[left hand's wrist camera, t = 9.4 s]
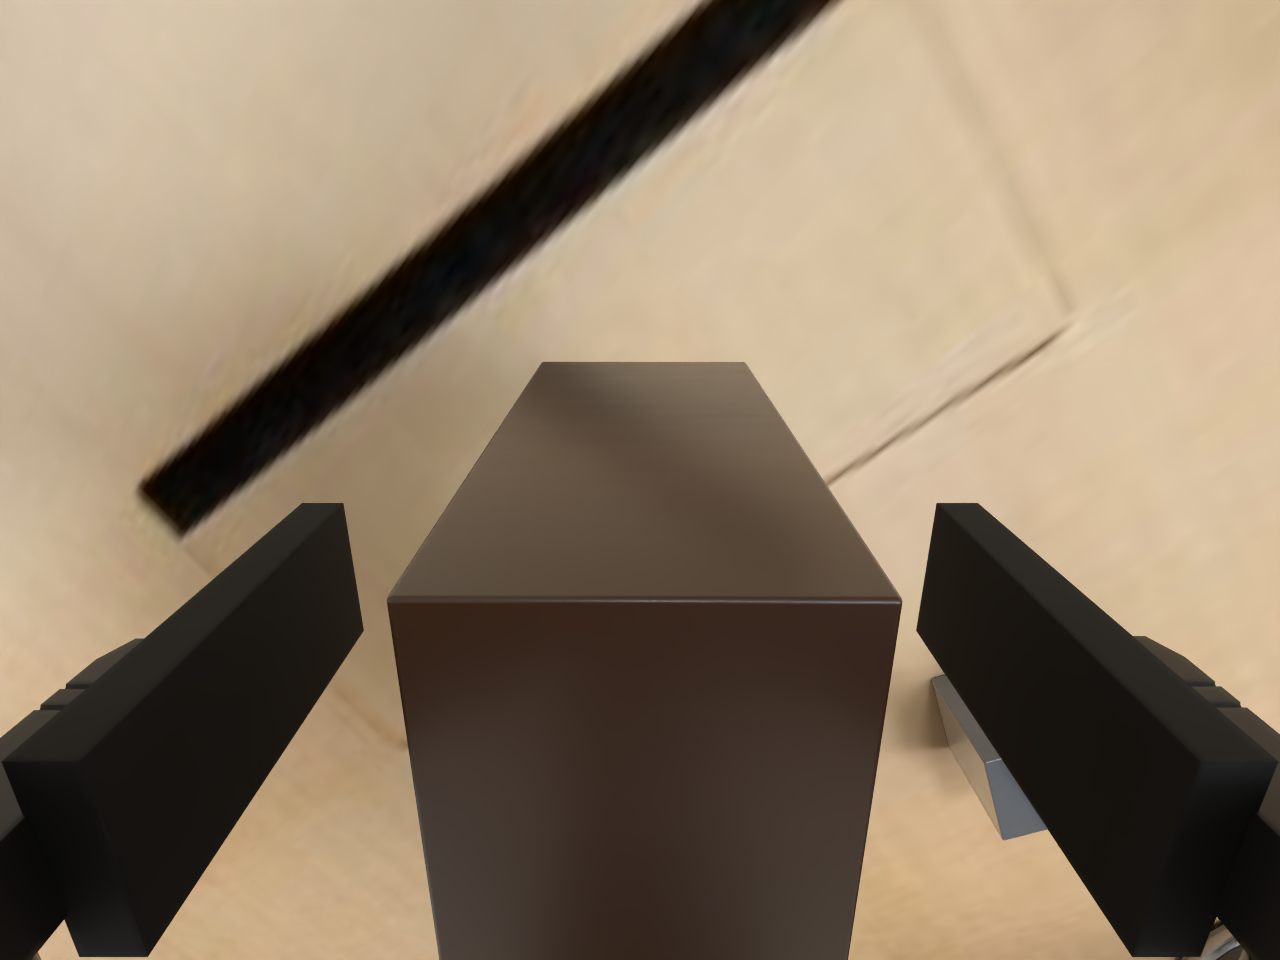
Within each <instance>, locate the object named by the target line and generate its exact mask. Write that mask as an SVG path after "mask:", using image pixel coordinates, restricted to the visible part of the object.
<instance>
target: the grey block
mask: <svg viewBox="0 0 1280 960" xmlns="http://www.w3.org/2000/svg"><path fill="white" fill-rule="evenodd" d="M932 683H933V687H934V690H935V694H936V698H937V702H938V706H939V710H940V713H941V717H942V721H943V725H944V729H945V732H946V736H947V740H948V744H949V748H950V750H951V752H952V753H953V755H954V757H955V759H956V760H957V762H958V764H959V766H960V767H961V769H962V771H963V772H964V774H965V776H966V778H967V779H968V781H969V783H970V785H971V786H972V788H973V790H974V791H975V793H976V795H977V797H978V798H979V800H980V802H981V804H982V805H983V807H984V809H985V810H986V812H987V814H988V816H989V817H990V819H991V821H992V823H993V824H994V826H995V828H996V829H997V831H998V833H999V835H1000V836H1001V838H1002V839H1003V840H1008V839H1012V838H1016V837H1019V836H1023V835H1027V834H1031V833H1035V832H1039V831H1043V830H1047V827H1046V826H1045V824H1044V823H1043V821H1042V820H1041V818H1040V817H1039V815H1038V814H1037V812H1036V811H1035V809H1034V808H1033V806H1032V805H1031V803H1030V802H1029V800H1028V799H1027V797H1026V796H1025V794H1024V793H1023V791H1022V790H1021V788H1020V787H1019V785H1018V783H1017V782H1016V780H1015V779H1014V777H1013V776H1012V774H1011V773H1010V771H1009V770H1008V768H1007V767H1006V765H1005V764H1004V762H1003V761H1002V759H1001V758H1000V756H999V755H998V753H997V752H996V750H995V749H994V747H993V746H992V744H991V743H990V741H989V740H988V738H987V737H986V735H985V734H984V732H983V731H982V729H981V728H980V726H979V725H978V723H977V722H976V720H975V719H974V717H973V715H972V714H971V712H970V711H969V709H968V708H967V706H966V705H965V703H964V702H963V700H962V699H961V697H960V696H959V694H958V693H957V691H956V690H955V688H954V687H953V685H952V684H951V682H950V681H949V679H948V678H947V676H946V675H943V676H940V677H936V678H933V679H932Z"/></svg>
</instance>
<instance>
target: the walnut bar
mask: <svg viewBox="0 0 1280 960" xmlns="http://www.w3.org/2000/svg"><path fill="white" fill-rule="evenodd" d="M387 604H388V611H389V618H390V625H391V632H392V639H393V645H394V652H395V659H396V666H397V673H398V680H399V686H400V693H401V700H402V707H403V714H404V721H405V727H406V734H407V741H408V748H409V755H410V762H411V768H412V775H413V782H414V789H415V796H416V803H417V809H418V816H419V823H420V830H421V837H422V843H423V850H424V857H425V864H426V871H427V878H428V884H429V891H430V898H431V905H432V912H433V919H434V925H435V932H436V939H437V946H438V953H439V960H848V955H849V948H850V942H851V935H852V929H853V922H854V916H855V909H856V902H857V896H858V889H859V883H860V876H861V870H862V863H863V857H864V850H865V843H866V837H867V830H868V824H869V817H870V811H871V804H872V797H873V791H874V784H875V778H876V771H877V765H878V758H879V752H880V745H881V738H882V732H883V725H884V719H885V712H886V706H887V699H888V692H889V686H890V679H891V673H892V666H893V660H894V653H895V646H896V640H897V633H898V627H899V620H900V614H901V607H902V599H901V597H900V595H899V594H898V592H897V591H896V589H895V588H894V586H893V585H892V583H891V582H890V580H889V579H888V577H887V576H886V574H885V573H884V571H883V570H882V568H881V567H880V565H879V564H878V562H877V561H876V559H875V558H874V556H873V555H872V553H871V551H870V550H869V548H868V547H867V545H866V544H865V542H864V541H863V539H862V538H861V536H860V535H859V533H858V532H857V530H856V529H855V527H854V526H853V524H852V523H851V521H850V520H849V518H848V517H847V515H846V514H845V512H844V511H843V509H842V508H841V506H840V505H839V503H838V502H837V500H836V499H835V497H834V496H833V494H832V493H831V491H830V490H829V488H828V487H827V485H826V484H825V482H824V481H823V479H822V478H821V476H820V475H819V473H818V472H817V470H816V469H815V467H814V466H813V464H812V463H811V461H810V459H809V458H808V456H807V455H806V453H805V452H804V450H803V449H802V447H801V446H800V444H799V443H798V441H797V440H796V438H795V437H794V435H793V434H792V432H791V431H790V429H789V428H788V426H787V425H786V423H785V422H784V420H783V419H782V417H781V416H780V414H779V413H778V411H777V410H776V408H775V407H774V405H773V404H772V402H771V401H770V399H769V398H768V396H767V395H766V393H765V392H764V390H763V389H762V387H761V386H760V384H759V383H758V381H757V380H756V378H755V377H754V375H753V374H752V372H751V371H750V369H749V367H748V366H747V364H746V363H744V362H542V363H541V365H540V366H539V368H538V369H537V371H536V372H535V374H534V375H533V377H532V378H531V380H530V381H529V383H528V384H527V386H526V387H525V389H524V391H523V392H522V394H521V395H520V397H519V398H518V400H517V401H516V403H515V404H514V406H513V407H512V409H511V410H510V412H509V413H508V415H507V416H506V418H505V419H504V421H503V422H502V424H501V426H500V427H499V429H498V430H497V432H496V433H495V435H494V436H493V438H492V439H491V441H490V442H489V444H488V445H487V447H486V448H485V450H484V451H483V453H482V454H481V456H480V457H479V459H478V460H477V462H476V464H475V465H474V467H473V468H472V470H471V471H470V473H469V474H468V476H467V477H466V479H465V480H464V482H463V483H462V485H461V486H460V488H459V489H458V491H457V492H456V494H455V495H454V497H453V499H452V500H451V502H450V503H449V505H448V506H447V508H446V509H445V511H444V512H443V514H442V515H441V517H440V518H439V520H438V521H437V523H436V524H435V526H434V527H433V529H432V530H431V532H430V534H429V535H428V537H427V538H426V540H425V541H424V543H423V544H422V546H421V547H420V549H419V550H418V552H417V553H416V555H415V556H414V558H413V559H412V561H411V562H410V564H409V565H408V567H407V569H406V570H405V572H404V573H403V575H402V576H401V578H400V579H399V581H398V582H397V584H396V585H395V587H394V588H393V590H392V591H391V593H390V594H389V596H388V599H387Z"/></svg>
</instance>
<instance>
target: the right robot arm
mask: <svg viewBox="0 0 1280 960" xmlns="http://www.w3.org/2000/svg"><path fill="white" fill-rule="evenodd" d="M1242 951H1243V948H1242V947H1241V945H1240V944H1239V943H1238V942H1237V940H1236V939H1235V938H1234V937H1233V936H1232V934H1231V933H1230V932H1229V931H1228V929H1227V928H1226V927H1225V926H1224V925H1222V926H1220V927H1218V928H1216V929H1215V930H1213V931H1211V932H1210V934H1209V937H1208V939H1207V942H1206V944H1205V947H1204V949H1203V952H1202V954H1201V957H1183V958H1182V959H1181V960H1239V958H1240V956H1241V954H1242Z"/></svg>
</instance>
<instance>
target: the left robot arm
mask: <svg viewBox="0 0 1280 960" xmlns="http://www.w3.org/2000/svg"><path fill="white" fill-rule="evenodd" d="M363 631H364V629H363V623H362V617H361V611H360V604H359V598H358V592H357V586H356V579H355V573H354V567H353V561H352V554H351V548H350V542H349V536H348V529H347V523H346V517H345V511H344V504H343V503H302V504H301V505H299V506H298V507H297V508H296V509H295V510H294V511H292V512H291V513H290V514H289V515H288V516H287V517H285V518H284V519H283V520H282V521H281V522H280V523H278V524H277V525H276V526H275V527H274V528H273V529H271V530H270V531H269V532H268V533H267V534H266V535H265V536H263V537H262V538H261V539H260V540H259V541H258V542H256V543H255V544H254V545H253V546H252V547H251V548H249V549H248V550H247V551H246V552H245V553H244V554H242V555H241V556H240V557H239V558H238V559H237V560H235V561H234V562H233V563H232V564H231V565H230V566H228V567H227V568H226V569H225V570H224V571H223V572H221V573H220V574H219V575H218V576H217V577H216V578H214V579H213V580H212V581H211V582H210V583H209V584H207V585H206V586H205V587H204V588H203V589H202V590H200V591H199V592H198V593H197V594H196V595H195V596H193V597H192V598H191V599H190V600H189V601H188V602H186V603H185V604H184V605H183V606H182V607H181V608H179V609H178V610H177V611H176V612H175V613H174V614H173V615H171V616H170V617H169V618H168V619H167V620H166V621H164V622H163V623H162V624H161V625H160V626H159V627H157V628H156V629H155V630H154V631H153V632H152V633H150V634H149V635H148V636H147V637H146V638H145V639H134V640H132V641H130V642H128V643H127V644H125V645H123V646H121V647H119V648H117V649H115V650H113V651H111V652H109V653H108V654H106V655H104V656H102V657H100V658H98V659H96V660H95V661H94V662H92V663H91V664H90V665H89V666H88V667H86V668H85V669H84V670H83V671H81V672H80V673H79V674H78V675H77V676H75V677H74V678H73V679H72V680H71V681H69V682H68V683H67V684H66V688H65V689H60V690H58V691H57V692H56V693H55V694H53V695H52V696H51V697H50V698H49V699H47V700H46V701H45V702H44V703H42V704H41V708H40V710H34V711H33V712H32V713H30V714H29V715H28V716H27V717H25V718H24V719H23V720H22V721H21V722H19V723H18V724H17V725H16V726H14V727H13V728H12V729H11V730H10V731H8V732H7V733H6V734H5V735H3V736H2V737H1V738H0V960H41V958H40V956H39V954H38V951H39V949H40V948H41V947H42V946H43V945H44V943H45V942H46V941H47V940H48V938H49V937H50V936H51V935H52V934H53V932H54V931H55V930H56V929H57V927H58V926H59V925H60V924H61V922H62V921H63V920H64V919H65V922H66V924H67V927H68V929H69V932H70V934H71V937H72V939H73V942H74V944H75V947H76V949H77V952H78V954H79V957H148V956H149V954H150V953H151V951H152V950H153V948H154V947H155V945H156V944H157V942H158V941H159V939H160V938H161V936H162V935H163V933H164V932H165V930H166V929H167V927H168V925H169V924H170V922H171V921H172V919H173V918H174V916H175V915H176V913H177V912H178V910H179V909H180V907H181V906H182V904H183V903H184V901H185V900H186V898H187V897H188V895H189V894H190V892H191V891H192V889H193V888H194V886H195V885H196V883H197V882H198V880H199V879H200V877H201V876H202V874H203V873H204V871H205V870H206V868H207V867H208V865H209V864H210V862H211V861H212V859H213V857H214V856H215V854H216V853H217V851H218V850H219V848H220V847H221V845H222V844H223V842H224V841H225V839H226V838H227V836H228V835H229V833H230V832H231V830H232V829H233V827H234V826H235V824H236V823H237V821H238V820H239V818H240V817H241V815H242V814H243V812H244V811H245V809H246V808H247V806H248V805H249V803H250V802H251V800H252V799H253V797H254V796H255V794H256V793H257V791H258V790H259V788H260V786H261V785H262V783H263V782H264V780H265V779H266V777H267V776H268V774H269V773H270V771H271V770H272V768H273V767H274V765H275V764H276V762H277V761H278V759H279V758H280V756H281V755H282V753H283V752H284V750H285V749H286V747H287V746H288V744H289V743H290V741H291V740H292V738H293V737H294V735H295V734H296V732H297V731H298V729H299V728H300V726H301V725H302V723H303V722H304V720H305V718H306V717H307V715H308V714H309V712H310V711H311V709H312V708H313V706H314V705H315V703H316V702H317V700H318V699H319V697H320V696H321V694H322V693H323V691H324V690H325V688H326V687H327V685H328V684H329V682H330V681H331V679H332V678H333V676H334V675H335V673H336V672H337V670H338V669H339V667H340V666H341V664H342V663H343V661H344V660H345V658H346V657H347V655H348V654H349V652H350V650H351V649H352V647H353V646H354V644H355V643H356V641H357V640H358V638H359V637H360V635H361V634H362V632H363ZM916 631H917V632H918V634H919V635H920V637H921V638H922V640H923V641H924V643H925V644H926V646H927V647H928V649H929V651H930V652H931V654H932V655H933V657H934V658H935V660H936V661H937V663H938V664H939V666H940V667H941V669H942V670H943V672H944V673H945V675H946V676H947V678H948V679H949V681H950V682H951V684H952V685H953V687H954V688H955V690H956V691H957V693H958V694H959V696H960V697H961V699H962V700H963V702H964V703H965V705H966V706H967V708H968V709H969V711H970V712H971V714H972V715H973V717H974V719H975V720H976V722H977V723H978V725H979V726H980V728H981V729H982V731H983V732H984V734H985V735H986V737H987V738H988V740H989V741H990V743H991V744H992V746H993V747H994V749H995V750H996V752H997V753H998V755H999V756H1000V758H1001V759H1002V761H1003V762H1004V764H1005V765H1006V767H1007V768H1008V770H1009V771H1010V773H1011V774H1012V776H1013V777H1014V779H1015V780H1016V782H1017V783H1018V785H1019V787H1020V788H1021V790H1022V791H1023V793H1024V794H1025V796H1026V797H1027V799H1028V800H1029V802H1030V803H1031V805H1032V806H1033V808H1034V809H1035V811H1036V812H1037V814H1038V815H1039V817H1040V818H1041V820H1042V821H1043V823H1044V824H1045V826H1046V827H1047V829H1048V830H1049V832H1050V833H1051V835H1052V836H1053V838H1054V839H1055V841H1056V842H1057V844H1058V845H1059V847H1060V848H1061V850H1062V851H1063V853H1064V854H1065V856H1066V858H1067V859H1068V861H1069V862H1070V864H1071V865H1072V867H1073V868H1074V870H1075V871H1076V873H1077V874H1078V876H1079V877H1080V879H1081V880H1082V882H1083V883H1084V885H1085V886H1086V888H1087V889H1088V891H1089V892H1090V894H1091V895H1092V897H1093V898H1094V900H1095V901H1096V903H1097V904H1098V906H1099V907H1100V909H1101V910H1102V912H1103V913H1104V915H1105V916H1106V918H1107V919H1108V921H1109V922H1110V924H1111V926H1112V927H1113V929H1114V930H1115V932H1116V933H1117V935H1118V936H1119V938H1120V939H1121V941H1122V942H1123V944H1124V945H1125V947H1126V948H1127V950H1128V951H1129V953H1130V954H1131V956H1132V957H1201V954H1202V952H1203V949H1204V947H1205V944H1206V942H1207V939H1208V937H1209V934H1210V932H1211V929H1212V927H1213V924H1214V922H1215V919H1216V917H1218V918H1219V920H1220V921H1221V922H1222V923H1223V925H1224V926H1225V927H1226V928H1227V929H1228V931H1229V932H1230V933H1231V934H1232V936H1233V937H1234V938H1235V939H1236V940H1237V942H1238V943H1239V944H1240V945H1241V947H1242V948H1243V951H1242V954H1241V956H1240V958H1239V960H1280V734H1279V733H1277V732H1276V731H1275V730H1274V729H1272V728H1271V727H1270V726H1269V725H1268V724H1266V723H1265V722H1264V721H1263V720H1261V719H1260V718H1259V717H1258V716H1257V715H1255V714H1254V713H1253V712H1252V711H1250V710H1249V709H1248V708H1242V707H1241V705H1240V702H1239V701H1238V700H1237V699H1236V698H1234V697H1233V696H1232V695H1231V694H1230V693H1228V692H1227V691H1226V690H1225V689H1223V688H1222V687H1216V686H1215V681H1214V680H1212V679H1211V678H1210V677H1209V676H1207V675H1206V674H1205V673H1204V672H1203V671H1201V670H1200V669H1199V668H1198V667H1196V666H1195V665H1194V664H1193V663H1191V662H1190V661H1189V660H1188V659H1187V658H1185V657H1184V656H1182V655H1180V654H1178V653H1176V652H1174V651H1172V650H1170V649H1168V648H1167V647H1165V646H1163V645H1161V644H1159V643H1157V642H1155V641H1153V640H1151V639H1149V638H1147V637H1146V636H1132V635H1131V634H1130V633H1128V632H1127V631H1126V630H1125V629H1124V628H1123V627H1121V626H1120V625H1119V624H1118V623H1117V622H1116V621H1114V620H1113V619H1112V618H1111V617H1110V616H1109V615H1107V614H1106V613H1105V612H1104V611H1103V610H1102V609H1100V608H1099V607H1098V606H1097V605H1096V604H1095V603H1094V602H1092V601H1091V600H1090V599H1089V598H1088V597H1087V596H1085V595H1084V594H1083V593H1082V592H1081V591H1080V590H1078V589H1077V588H1076V587H1075V586H1074V585H1073V584H1071V583H1070V582H1069V581H1068V580H1067V579H1066V578H1064V577H1063V576H1062V575H1061V574H1060V573H1059V572H1057V571H1056V570H1055V569H1054V568H1053V567H1052V566H1050V565H1049V564H1048V563H1047V562H1046V561H1045V560H1043V559H1042V558H1041V557H1040V556H1039V555H1038V554H1036V553H1035V552H1034V551H1033V550H1032V549H1031V548H1029V547H1028V546H1027V545H1026V544H1025V543H1024V542H1022V541H1021V540H1020V539H1019V538H1018V537H1017V536H1015V535H1014V534H1013V533H1012V532H1011V531H1010V530H1008V529H1007V528H1006V527H1005V526H1004V525H1003V524H1001V523H1000V522H999V521H998V520H997V519H996V518H995V517H993V516H992V515H991V514H990V513H989V512H988V511H986V510H985V509H984V508H983V507H982V506H981V505H979V504H978V503H937V504H936V511H935V517H934V523H933V529H932V536H931V542H930V548H929V554H928V561H927V567H926V573H925V579H924V586H923V592H922V598H921V604H920V611H919V617H918V623H917V629H916Z"/></svg>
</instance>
